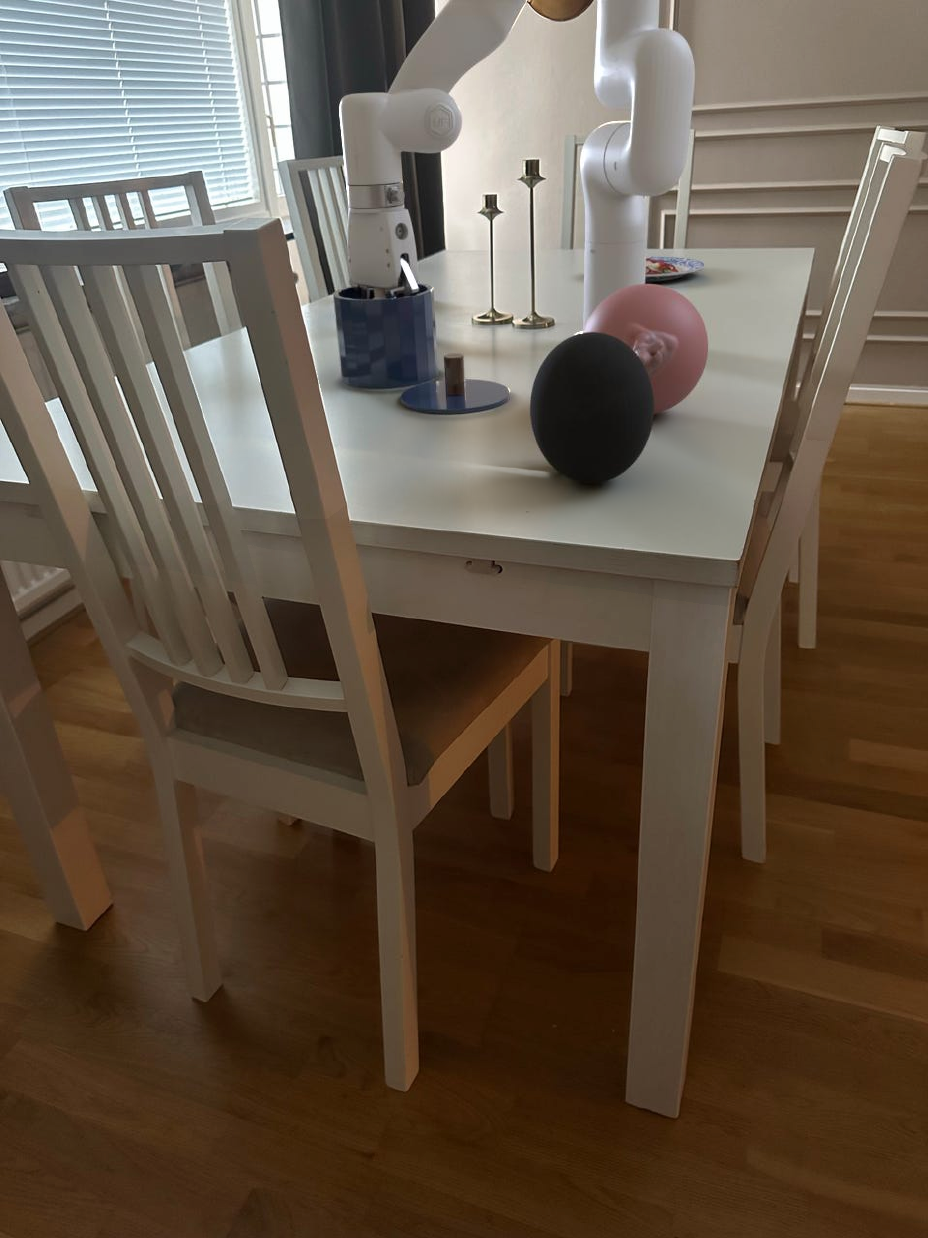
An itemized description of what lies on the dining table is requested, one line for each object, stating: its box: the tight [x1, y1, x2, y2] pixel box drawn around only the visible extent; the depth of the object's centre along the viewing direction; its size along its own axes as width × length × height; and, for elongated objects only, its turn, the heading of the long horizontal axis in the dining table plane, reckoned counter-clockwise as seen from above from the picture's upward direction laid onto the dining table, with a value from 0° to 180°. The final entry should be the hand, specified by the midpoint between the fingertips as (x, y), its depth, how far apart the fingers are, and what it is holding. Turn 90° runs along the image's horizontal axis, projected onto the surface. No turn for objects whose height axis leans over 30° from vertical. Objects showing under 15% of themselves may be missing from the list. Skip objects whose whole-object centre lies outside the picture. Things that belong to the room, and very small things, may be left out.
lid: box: [400, 352, 511, 415], centre depth 123 cm, size 15×15×6 cm
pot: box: [332, 282, 439, 390], centre depth 133 cm, size 14×14×12 cm
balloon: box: [582, 283, 709, 415], centre depth 111 cm, size 15×20×15 cm
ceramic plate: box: [645, 256, 706, 283], centre depth 203 cm, size 26×26×3 cm
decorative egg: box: [529, 332, 655, 484], centre depth 93 cm, size 12×12×15 cm
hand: (387, 336), depth 133 cm, fingers closed on salt shaker, 3 cm apart
